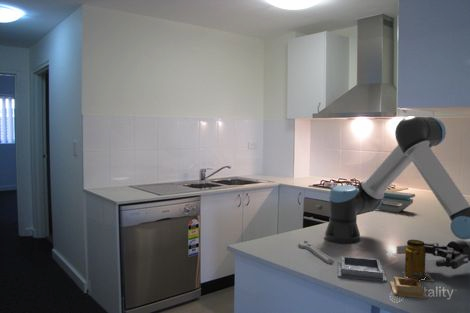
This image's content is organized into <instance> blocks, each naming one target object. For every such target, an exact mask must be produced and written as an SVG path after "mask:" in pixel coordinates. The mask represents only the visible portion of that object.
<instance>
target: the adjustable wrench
mask: <svg viewBox="0 0 470 313" xmlns="http://www.w3.org/2000/svg"><path fill="white" fill-rule="evenodd" d="M298 247H300V248H301V249H306V250H309V251H310V252H311V253H313V254H314V255H316V256H317V255H318V256H317V257H319V258H320V259H321V258H322V259H321V260H322V261H324V260H325V261H326V262H325V261H324V262H325V263H327V264H329V263H334V264H335V259H333V258H332V257H330V256H329V255H327V254H325V253H324V252H323V251H321V250H320V249H318V248H317V247H315V246H314V242H313V241H311V240H304V242H302V241H299V242H298Z"/></svg>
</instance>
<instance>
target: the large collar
mask: <svg viewBox="0 0 470 313" xmlns="http://www.w3.org/2000/svg"><path fill="white" fill-rule="evenodd" d="M337 268H338V273H337V274H338V278H342V279H352V280H360V281H361V280H362V281H363V280H364V281H371V282H372V281H374V282H382V283H387V280H388V279H387V277H386V275H385V274H386V273H385V269H384V267H383V263H381V260H380V258H368V257H357V256H356V257H355V256H347V255H346V256H344V255H341V260H340V259H339V260H338V267H337Z"/></svg>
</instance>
